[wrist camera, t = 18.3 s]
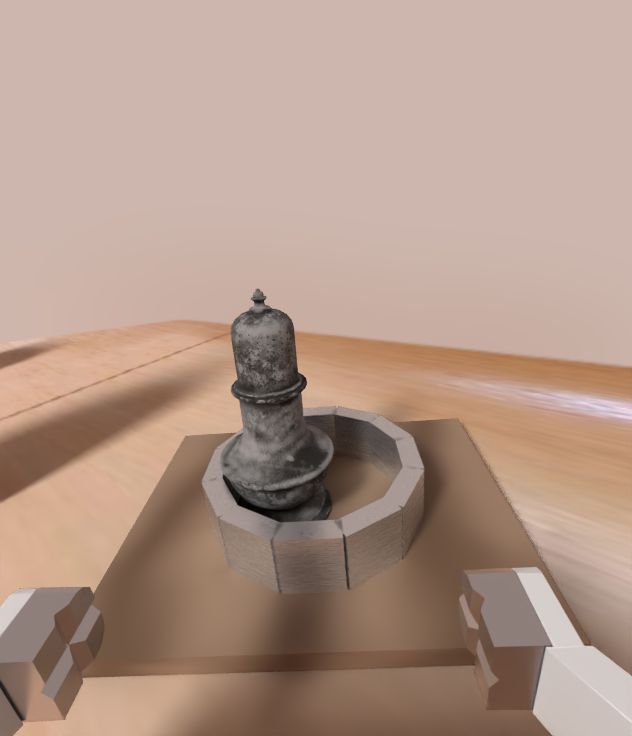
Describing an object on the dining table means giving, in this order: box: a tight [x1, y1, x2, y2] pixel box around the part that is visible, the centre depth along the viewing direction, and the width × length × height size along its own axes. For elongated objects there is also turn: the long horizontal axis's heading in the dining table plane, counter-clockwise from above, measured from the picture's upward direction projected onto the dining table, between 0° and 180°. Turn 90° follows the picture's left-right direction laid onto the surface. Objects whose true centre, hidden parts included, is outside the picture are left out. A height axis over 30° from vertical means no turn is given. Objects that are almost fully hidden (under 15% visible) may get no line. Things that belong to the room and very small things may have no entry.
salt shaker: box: [220, 289, 334, 523], centre depth 20 cm, size 6×6×12 cm
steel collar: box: [202, 406, 424, 594], centre depth 22 cm, size 11×11×3 cm
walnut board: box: [82, 418, 591, 678], centre depth 23 cm, size 20×16×1 cm
